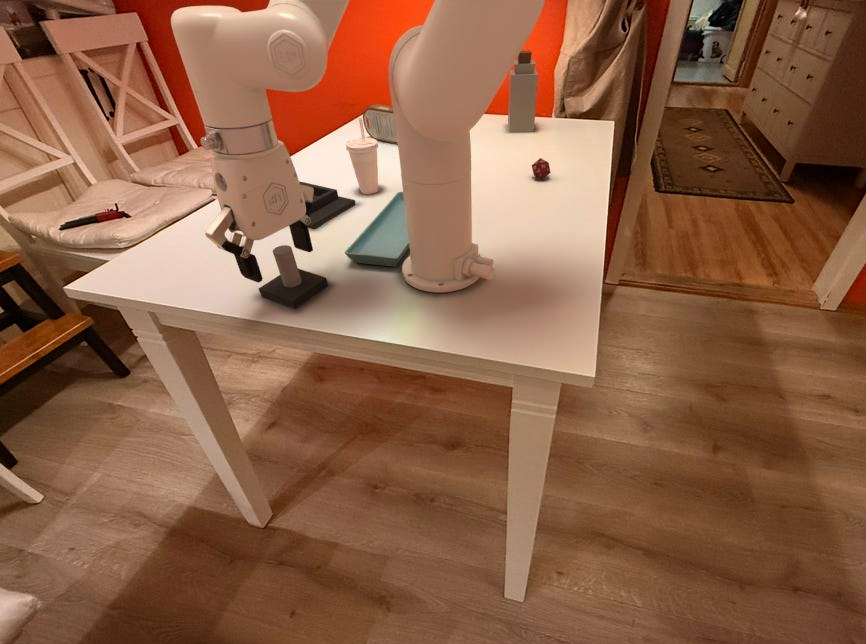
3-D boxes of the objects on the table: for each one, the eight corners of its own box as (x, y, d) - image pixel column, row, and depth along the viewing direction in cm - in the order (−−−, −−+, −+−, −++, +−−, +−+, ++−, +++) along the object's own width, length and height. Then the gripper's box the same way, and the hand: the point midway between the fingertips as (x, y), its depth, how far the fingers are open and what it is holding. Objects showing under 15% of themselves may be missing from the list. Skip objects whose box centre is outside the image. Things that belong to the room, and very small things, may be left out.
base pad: (355, 204, 93) (353, 191, 91) (314, 229, 85) (310, 214, 83) (304, 192, 98) (301, 179, 96) (261, 214, 90) (256, 200, 88)
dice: (535, 183, 99) (536, 163, 96) (528, 175, 102) (530, 156, 99) (551, 181, 99) (553, 162, 97) (545, 173, 103) (546, 155, 100)
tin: (415, 144, 120) (412, 108, 115) (407, 147, 118) (404, 111, 113) (371, 135, 127) (366, 101, 121) (364, 139, 125) (358, 104, 119)
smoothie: (378, 197, 95) (367, 124, 86) (349, 195, 96) (335, 123, 87) (388, 185, 100) (378, 114, 90) (360, 183, 101) (348, 113, 91)
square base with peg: (328, 285, 71) (317, 244, 66) (295, 309, 66) (281, 266, 61) (295, 274, 73) (282, 234, 68) (261, 296, 69) (245, 255, 64)
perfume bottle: (533, 131, 126) (539, 53, 114) (509, 132, 126) (512, 54, 114) (531, 124, 131) (536, 49, 119) (507, 125, 131) (510, 49, 119)
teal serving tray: (399, 201, 93) (397, 188, 92) (442, 204, 92) (442, 192, 90) (345, 266, 75) (342, 252, 73) (399, 272, 73) (397, 258, 71)
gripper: (201, 163, 48) (250, 300, 59) (317, 124, 59) (340, 245, 71) (156, 151, 51) (211, 284, 62) (275, 115, 62) (303, 234, 73)
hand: (279, 263), depth 66 cm, fingers open, 9 cm apart
